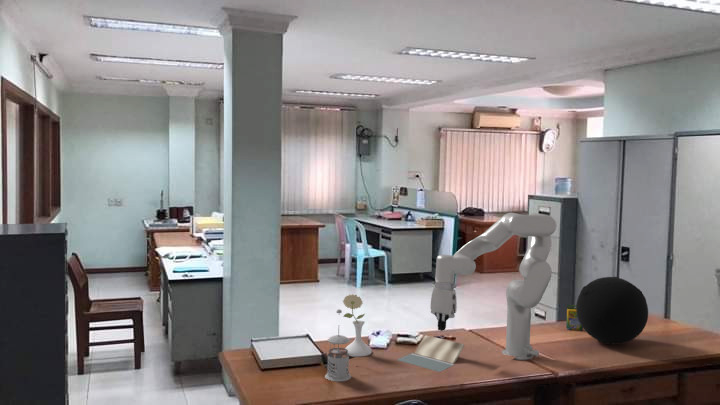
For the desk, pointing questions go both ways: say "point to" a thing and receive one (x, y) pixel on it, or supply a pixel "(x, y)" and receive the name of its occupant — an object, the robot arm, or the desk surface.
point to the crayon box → (572, 319)
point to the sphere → (612, 310)
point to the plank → (439, 349)
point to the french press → (338, 359)
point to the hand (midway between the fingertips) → (441, 329)
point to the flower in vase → (356, 328)
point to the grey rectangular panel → (425, 362)
